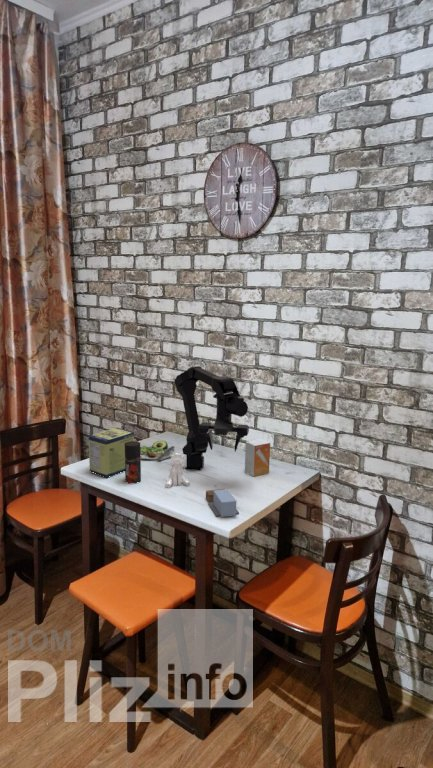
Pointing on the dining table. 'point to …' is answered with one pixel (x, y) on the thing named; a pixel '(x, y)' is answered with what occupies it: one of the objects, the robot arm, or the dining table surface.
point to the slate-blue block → (224, 502)
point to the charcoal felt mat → (217, 510)
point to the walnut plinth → (210, 495)
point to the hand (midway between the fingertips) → (223, 450)
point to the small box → (257, 457)
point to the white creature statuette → (177, 472)
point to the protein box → (108, 451)
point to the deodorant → (132, 462)
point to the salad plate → (157, 451)
